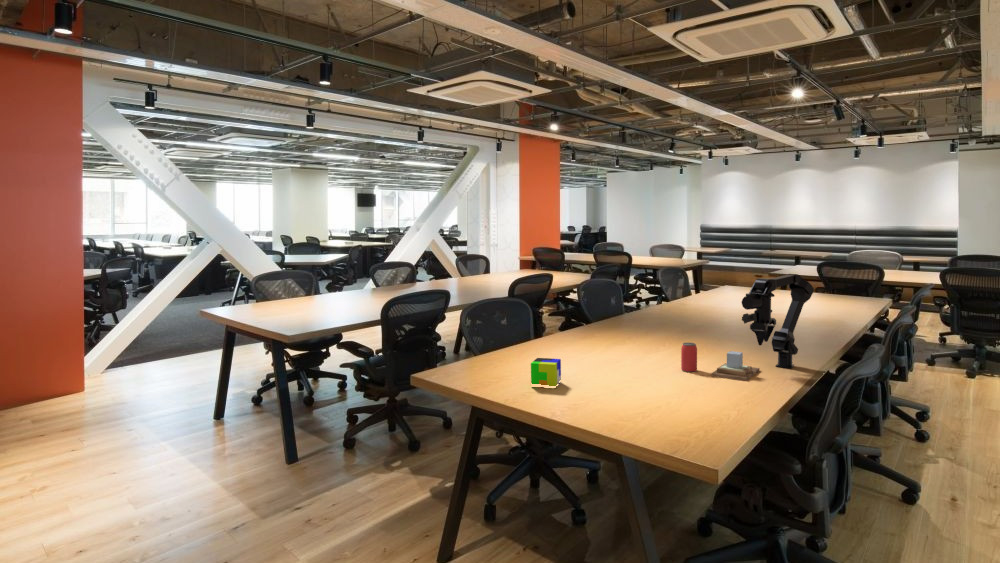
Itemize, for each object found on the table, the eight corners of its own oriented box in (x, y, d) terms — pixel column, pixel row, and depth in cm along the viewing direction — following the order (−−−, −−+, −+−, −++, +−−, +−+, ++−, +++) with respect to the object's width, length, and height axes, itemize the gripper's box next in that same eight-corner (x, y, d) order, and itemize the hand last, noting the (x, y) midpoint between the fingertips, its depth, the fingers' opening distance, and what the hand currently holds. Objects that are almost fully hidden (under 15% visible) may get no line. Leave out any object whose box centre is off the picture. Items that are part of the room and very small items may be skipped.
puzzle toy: (561, 382, 236) (560, 359, 235) (555, 389, 227) (555, 364, 226) (537, 381, 239) (537, 357, 238) (531, 387, 230) (530, 363, 229)
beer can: (698, 372, 246) (698, 345, 245) (682, 372, 248) (682, 345, 247) (695, 368, 253) (696, 342, 252) (680, 368, 254) (680, 342, 253)
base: (726, 366, 256) (726, 359, 255) (759, 370, 247) (759, 363, 247) (711, 376, 240) (711, 368, 240) (746, 380, 232) (746, 373, 231)
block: (730, 364, 245) (730, 351, 245) (742, 366, 242) (742, 352, 242) (726, 367, 241) (726, 353, 241) (738, 368, 238) (739, 354, 238)
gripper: (750, 303, 257) (749, 338, 258) (737, 309, 242) (737, 345, 244) (776, 305, 250) (776, 340, 251) (765, 310, 235) (764, 348, 237)
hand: (763, 343), depth 246 cm, fingers open, 9 cm apart
